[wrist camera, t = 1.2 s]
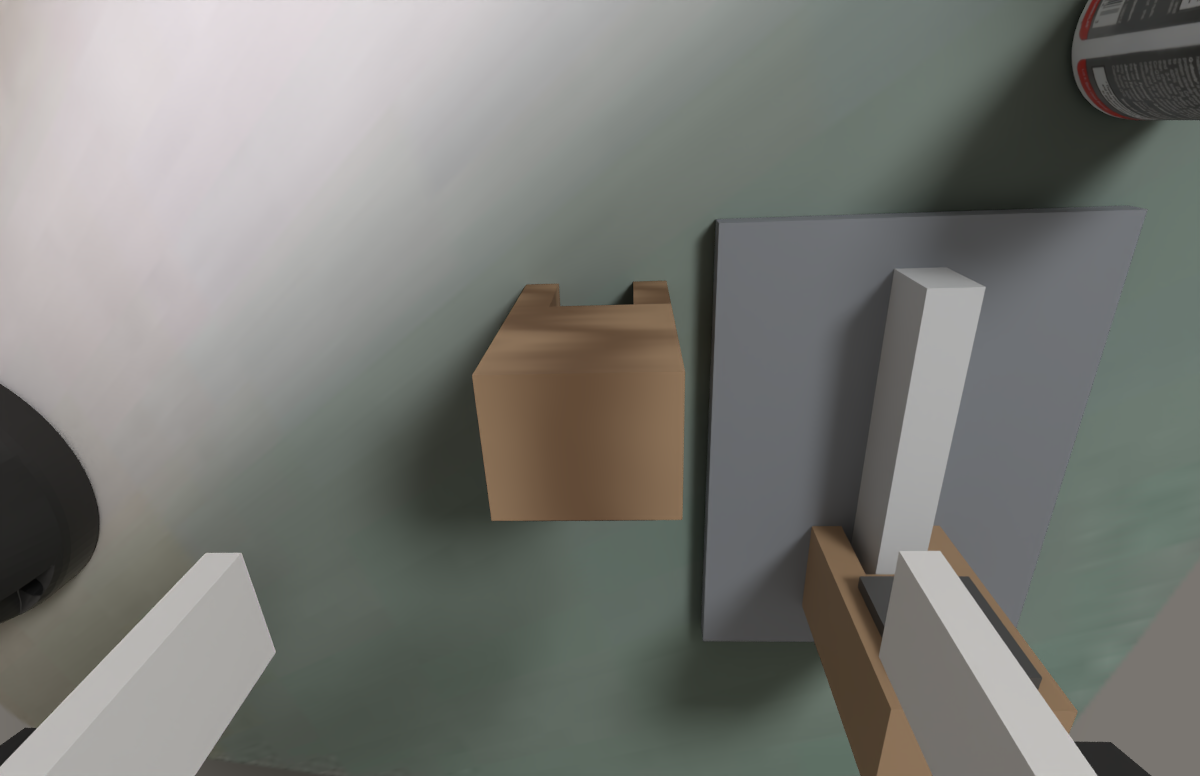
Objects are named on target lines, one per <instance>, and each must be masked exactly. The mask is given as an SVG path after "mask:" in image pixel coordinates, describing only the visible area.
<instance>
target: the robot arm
mask: <svg viewBox="0 0 1200 776" xmlns="http://www.w3.org/2000/svg"><path fill="white" fill-rule="evenodd" d="M98 530H99V517H98V509H97V504H96V500H95V496H94V493H93V490H92V487H91V485H90V482H89V480H88V478H87V476H86V474H85V472H84V470H83V468H82V466H81V464H80V463H79V461H78V459H77V458H76V456H75V455H74V453H73V452H72V450H71V449H70V448H69V446H68V445H67V444H66V442H65V441H64V440H63V439H62V437H61V436H60V435H59V434H58V433H57V431H56V430H55V429H54V428H53V427H52V426H51V425H50V424H49V423H48V422H47V421H46V420H45V419H44V418H43V417H42V416H41V415H40V414H39V413H38V412H37V411H35V410H34V409H33V408H32V407H31V406H30V405H28V404H27V403H26V402H25V401H23V400H22V399H21V398H20V397H18V396H17V395H16V394H14V393H13V392H11V391H10V390H9V389H7V388H6V387H4V386H3V385H1V384H0V623H3V622H5V621H7V620H9V619H11V618H14V617H16V616H18V615H20V614H22V613H24V612H26V611H28V610H30V609H32V608H34V607H35V606H37V605H38V604H40V603H42V602H43V601H44V600H46V599H47V598H48V597H50V596H51V595H52V594H53V593H54V592H56V591H57V590H58V589H59V588H60V587H62V586H63V585H64V584H65V583H66V582H68V581H69V580H70V579H71V578H72V577H74V576H75V575H76V574H77V573H78V572H79V571H80V570H81V569H82V568H83V567H84V566H85V565H86V563H87V562H88V561H89V559H90V557H91V555H92V553H93V551H94V549H95V546H96V542H97V538H98ZM275 653H276V651H275V648H274V645H273V642H272V639H271V636H270V634H269V631H268V628H267V625H266V622H265V619H264V616H263V613H262V610H261V608H260V605H259V602H258V599H257V596H256V593H255V590H254V587H253V585H252V582H251V579H250V576H249V573H248V570H247V567H246V564H245V562H244V559H243V556H242V553H205V554H204V555H203V556H202V557H201V558H200V559H199V560H198V562H197V563H196V564H195V565H194V566H193V567H192V568H191V569H190V570H189V571H188V572H187V573H186V574H185V575H184V576H183V577H182V578H181V579H180V580H179V581H178V582H177V583H176V584H175V585H174V586H173V588H172V589H171V590H170V591H169V592H168V593H167V594H166V595H165V596H164V597H163V598H162V599H161V600H160V601H159V602H158V603H157V604H156V605H155V606H154V607H153V608H152V609H151V610H150V611H149V612H148V614H147V615H146V616H145V617H144V618H143V619H142V620H141V621H140V622H139V623H138V624H137V625H136V626H135V627H134V628H133V629H132V630H131V631H130V632H129V633H128V634H127V635H126V636H125V637H124V638H123V639H122V641H121V642H120V643H119V644H118V645H117V646H116V647H115V648H114V649H113V650H112V651H111V652H110V653H109V654H108V655H107V656H106V657H105V658H104V659H103V660H102V661H101V662H100V663H99V664H98V665H97V667H96V668H95V669H94V670H93V671H92V672H91V673H90V674H89V675H88V676H87V677H86V678H85V679H84V680H83V681H82V682H81V683H80V684H79V685H78V686H77V687H76V688H75V689H74V690H73V691H72V693H71V694H70V695H69V696H68V697H67V698H66V699H65V700H64V701H63V702H62V703H61V704H60V705H59V706H58V707H57V708H56V709H55V710H54V711H53V712H52V713H51V714H50V715H49V716H48V717H47V718H46V720H45V721H44V722H43V723H42V724H41V725H40V726H39V727H38V728H24V729H23V730H21V731H20V732H19V733H17V734H16V735H14V736H13V737H11V738H10V739H9V740H7V741H6V742H5V743H3V744H2V745H0V776H195V775H196V773H197V772H198V770H199V768H200V767H201V765H202V764H203V762H204V761H205V759H206V758H207V756H208V755H209V753H210V752H211V750H212V749H213V747H214V746H215V744H216V743H217V741H218V740H219V738H220V737H221V735H222V734H223V732H224V730H225V729H226V727H227V726H228V724H229V723H230V721H231V720H232V718H233V717H234V715H235V714H236V712H237V711H238V709H239V708H240V706H241V705H242V703H243V702H244V700H245V698H246V697H247V695H248V694H249V692H250V691H251V689H252V688H253V686H254V685H255V683H256V682H257V680H258V679H259V677H260V676H261V674H262V673H263V671H264V670H265V668H266V667H267V665H268V663H269V662H270V660H271V659H272V657H273V656H274V654H275ZM879 658H880V660H881V662H882V665H883V667H884V669H885V671H886V674H887V676H888V678H889V680H890V682H891V685H892V687H893V689H894V691H895V693H896V696H897V698H898V700H899V702H900V704H901V707H902V709H903V711H904V713H905V716H906V718H907V720H908V722H909V724H910V727H911V729H912V731H913V733H914V735H915V738H916V740H917V742H918V744H919V747H920V749H921V751H922V753H923V755H924V758H925V760H926V762H927V764H928V766H929V769H930V771H931V773H932V775H933V776H1151V775H1150V774H1148V773H1147V772H1146V771H1145V770H1144V769H1142V768H1141V767H1140V766H1139V765H1138V764H1136V763H1135V762H1134V761H1133V760H1132V759H1130V758H1129V757H1128V756H1127V755H1126V754H1124V753H1123V752H1122V751H1121V750H1120V749H1118V748H1117V747H1116V746H1115V745H1114V744H1112V743H1111V742H1074V741H1073V740H1072V738H1071V737H1070V736H1069V734H1068V733H1067V731H1066V730H1065V728H1064V727H1063V726H1062V724H1061V723H1060V721H1059V720H1058V718H1057V717H1056V716H1055V714H1054V713H1053V711H1052V710H1051V708H1050V707H1049V706H1048V704H1047V703H1046V701H1045V700H1044V698H1043V697H1042V696H1041V694H1040V693H1039V691H1038V690H1037V688H1036V687H1035V686H1034V684H1033V683H1032V681H1031V680H1030V678H1029V677H1028V676H1027V674H1026V673H1025V671H1024V670H1023V668H1022V667H1021V666H1020V664H1019V663H1018V661H1017V660H1016V658H1015V657H1014V656H1013V654H1012V653H1011V651H1010V650H1009V648H1008V647H1007V646H1006V644H1005V643H1004V641H1003V640H1002V638H1001V637H1000V636H999V634H998V633H997V631H996V630H995V628H994V627H993V626H992V624H991V623H990V621H989V620H988V618H987V617H986V616H985V614H984V613H983V611H982V610H981V608H980V607H979V606H978V604H977V603H976V601H975V600H974V598H973V597H972V596H971V594H970V593H969V591H968V590H967V588H966V587H965V586H964V584H963V583H962V581H961V580H960V578H959V577H958V576H957V574H956V573H955V571H954V570H953V568H952V567H951V566H950V564H949V563H948V561H947V560H946V558H945V557H944V556H943V554H942V553H941V551H899V555H898V560H897V565H896V570H895V575H894V580H893V585H892V591H891V596H890V601H889V606H888V611H887V616H886V621H885V627H884V632H883V637H882V642H881V647H880V652H879Z"/></svg>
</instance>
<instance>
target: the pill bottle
mask: <svg viewBox="0 0 1200 776" xmlns="http://www.w3.org/2000/svg"><path fill="white" fill-rule="evenodd" d="M1072 68H1073V73H1074V78H1075V81H1076V83H1077V86H1078V88H1079V90H1080V91H1081V93H1082V95H1083V96H1084V97H1085V98H1086V100H1087V101H1088V102H1089V103H1090V104H1091V105H1093V106H1094V107H1095V108H1097V109H1098V110H1100V111H1102V112H1103V113H1105V114H1108V115H1110V116H1114V117H1117V118H1123V119H1131V120H1200V0H1088V2H1087V3H1086V5H1085V8H1084V10H1083V12H1082V14H1081V16H1080V18H1079V21H1078V24H1077V27H1076V30H1075V34H1074V39H1073V44H1072Z"/></svg>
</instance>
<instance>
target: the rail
mask: <svg viewBox="0 0 1200 776" xmlns="http://www.w3.org/2000/svg"><path fill="white" fill-rule="evenodd" d="M1147 210H1148V209H1143V208H1138V207H1133V206H1101V207H1071V208H1040V209H1010V210H979V211H949V212H919V213H888V214H858V215H827V216H797V217H766V218H736V219H716V231H715V258H714V286H713V313H712V341H711V368H710V396H709V424H708V451H707V479H706V506H705V534H704V561H703V589H702V616H701V630H702V637H703V641H760V642H815V645H816V648H817V651H818V653H819V656H820V659H821V662H822V665H823V668H824V671H825V674H826V677H827V679H828V682H829V685H830V688H831V691H832V694H833V697H834V700H835V703H836V706H837V708H838V711H839V714H840V717H841V720H842V723H843V726H844V729H845V732H846V735H847V737H848V740H849V743H850V746H851V749H852V752H853V755H854V758H855V761H856V764H857V766H858V769H859V772H860V775H861V776H933V775H932V773H931V771H930V769H929V766H928V764H927V762H926V760H925V758H924V755H923V753H922V751H921V749H920V747H919V744H918V742H917V740H916V738H915V735H914V733H913V731H912V729H911V727H910V724H909V722H908V720H907V718H906V716H905V713H904V711H903V709H902V707H901V704H900V702H899V700H898V698H897V696H896V693H895V691H894V689H893V687H892V685H891V682H890V680H889V678H888V676H887V674H886V671H885V669H884V667H883V665H882V662H881V660H880V658H879V652H880V647H881V642H882V637H883V632H884V627H885V621H886V616H887V611H888V606H889V601H890V596H891V591H892V585H893V580H894V575H895V570H896V565H897V560H898V555H899V551H941V553H942V554H943V556H944V557H945V558H946V560H947V561H948V563H949V564H950V566H951V567H952V568H953V570H954V571H955V573H956V574H957V576H958V577H959V578H960V580H961V581H962V583H963V584H964V586H965V587H966V588H967V590H968V591H969V593H970V594H971V596H972V597H973V598H974V600H975V601H976V603H977V604H978V606H979V607H980V608H981V610H982V611H983V613H984V614H985V616H986V617H987V618H988V620H989V621H990V623H991V624H992V626H993V627H994V628H995V630H996V631H997V633H998V634H999V636H1000V637H1001V638H1002V640H1003V641H1004V643H1005V644H1006V646H1007V647H1008V648H1009V650H1010V651H1011V653H1012V654H1013V656H1014V657H1015V658H1016V660H1017V661H1018V663H1019V664H1020V666H1021V667H1022V668H1023V670H1024V671H1025V673H1026V674H1027V676H1028V677H1029V678H1030V680H1031V681H1032V683H1033V684H1034V686H1035V687H1036V688H1037V690H1038V691H1039V693H1040V694H1041V696H1042V697H1043V698H1044V700H1045V701H1046V703H1047V704H1048V706H1049V707H1050V708H1051V710H1052V711H1053V713H1054V714H1055V716H1056V717H1057V718H1058V720H1059V721H1060V723H1061V724H1062V726H1063V727H1064V728H1065V730H1066V731H1067V733H1068V734H1069V732H1070V730H1071V727H1072V725H1073V722H1074V720H1075V717H1076V715H1077V712H1078V711H1077V710H1076V709H1075V707H1074V706H1073V705H1072V703H1071V702H1070V701H1069V699H1068V698H1067V696H1066V695H1065V694H1064V692H1063V691H1062V690H1061V688H1060V687H1059V686H1058V684H1057V683H1056V682H1055V680H1054V679H1053V678H1052V676H1051V675H1050V674H1049V672H1048V671H1047V670H1046V668H1045V667H1044V665H1043V664H1042V663H1041V661H1040V660H1039V659H1038V657H1037V656H1036V655H1035V653H1034V652H1033V651H1032V649H1031V648H1030V647H1029V645H1028V644H1027V643H1026V641H1025V640H1024V639H1023V637H1022V636H1021V635H1020V633H1019V632H1018V630H1017V629H1016V628H1017V624H1018V621H1019V618H1020V615H1021V612H1022V609H1023V605H1024V602H1025V599H1026V596H1027V593H1028V589H1029V586H1030V583H1031V580H1032V577H1033V573H1034V570H1035V567H1036V564H1037V561H1038V557H1039V554H1040V551H1041V548H1042V545H1043V542H1044V538H1045V535H1046V532H1047V529H1048V526H1049V522H1050V519H1051V516H1052V513H1053V510H1054V506H1055V503H1056V500H1057V497H1058V494H1059V490H1060V487H1061V484H1062V481H1063V478H1064V475H1065V471H1066V468H1067V465H1068V462H1069V459H1070V455H1071V452H1072V449H1073V446H1074V443H1075V439H1076V436H1077V433H1078V430H1079V427H1080V423H1081V420H1082V417H1083V414H1084V411H1085V408H1086V404H1087V401H1088V398H1089V395H1090V392H1091V388H1092V385H1093V382H1094V379H1095V376H1096V372H1097V369H1098V366H1099V363H1100V360H1101V356H1102V353H1103V350H1104V347H1105V344H1106V341H1107V337H1108V334H1109V331H1110V328H1111V325H1112V321H1113V318H1114V315H1115V312H1116V309H1117V305H1118V302H1119V299H1120V296H1121V293H1122V289H1123V286H1124V283H1125V280H1126V277H1127V274H1128V270H1129V267H1130V264H1131V261H1132V258H1133V254H1134V251H1135V248H1136V245H1137V242H1138V238H1139V235H1140V232H1141V229H1142V226H1143V222H1144V219H1145V216H1146V213H1147Z"/></svg>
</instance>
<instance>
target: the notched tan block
mask: <svg viewBox="0 0 1200 776" xmlns="http://www.w3.org/2000/svg"><path fill="white" fill-rule="evenodd" d="M633 298H634V305H596V306H560V295H559V284H531V285H526V286H525V288H524V289H523V291H522V293H521V294H520V296H519V298H518V299H517V301H516V303H515V304H514V306H513V308H512V309H511V311H510V313H509V314H508V316H507V318H506V320H505V321H504V323H503V325H502V326H501V328H500V330H499V331H498V333H497V335H496V336H495V338H494V340H493V341H492V343H491V345H490V346H489V348H488V350H487V351H486V353H485V355H484V356H483V358H482V360H481V361H480V363H479V365H478V366H477V368H476V370H475V371H474V373H473V375H472V379H473V386H474V394H475V401H476V409H477V416H478V424H479V431H480V438H481V446H482V453H483V461H484V468H485V475H486V483H487V490H488V498H489V505H490V512H491V520H492V521H617V520H682V509H683V454H684V398H685V369H684V364H683V359H682V355H681V350H680V345H679V340H678V335H677V330H676V326H675V321H674V316H673V311H672V306H671V301H670V297H669V292H668V287H667V282H666V281H641V282H633Z"/></svg>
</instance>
